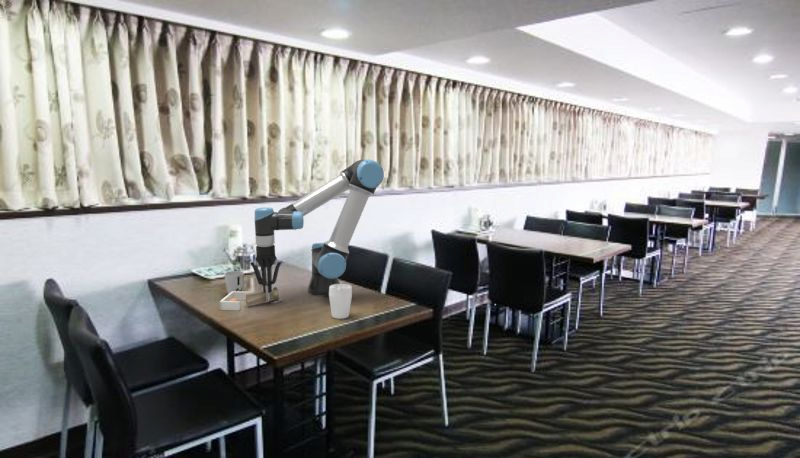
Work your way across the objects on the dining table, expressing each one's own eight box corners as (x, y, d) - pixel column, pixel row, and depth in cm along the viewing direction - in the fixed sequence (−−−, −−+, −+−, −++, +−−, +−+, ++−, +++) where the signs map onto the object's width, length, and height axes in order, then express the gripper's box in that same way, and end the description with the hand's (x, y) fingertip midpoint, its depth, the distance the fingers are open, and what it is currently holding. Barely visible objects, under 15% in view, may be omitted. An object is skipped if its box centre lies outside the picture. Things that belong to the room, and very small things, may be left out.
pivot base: (283, 299, 203) (283, 298, 202) (280, 303, 197) (280, 302, 197) (270, 298, 202) (270, 297, 202) (266, 302, 196) (266, 302, 196)
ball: (240, 304, 192) (236, 296, 192) (238, 304, 189) (234, 297, 189) (232, 308, 192) (228, 300, 192) (229, 308, 188) (226, 300, 188)
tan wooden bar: (280, 299, 199) (280, 287, 199) (248, 306, 189) (248, 294, 188) (276, 297, 201) (276, 286, 201) (245, 304, 191) (245, 292, 190)
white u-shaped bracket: (250, 299, 201) (250, 291, 200) (239, 310, 186) (239, 302, 185) (232, 299, 200) (231, 291, 200) (219, 310, 186) (219, 301, 185)
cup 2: (340, 310, 189) (341, 282, 187) (356, 316, 183) (356, 286, 181) (324, 316, 182) (324, 286, 180) (339, 321, 176) (340, 291, 174)
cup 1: (238, 298, 202) (237, 275, 201) (221, 296, 204) (220, 274, 202) (247, 293, 210) (247, 271, 209) (231, 291, 212) (230, 270, 210)
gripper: (282, 243, 195) (284, 297, 198) (252, 243, 194) (255, 297, 198) (278, 246, 187) (280, 302, 191) (247, 246, 187) (250, 302, 191)
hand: (267, 300), depth 194 cm, fingers closed
